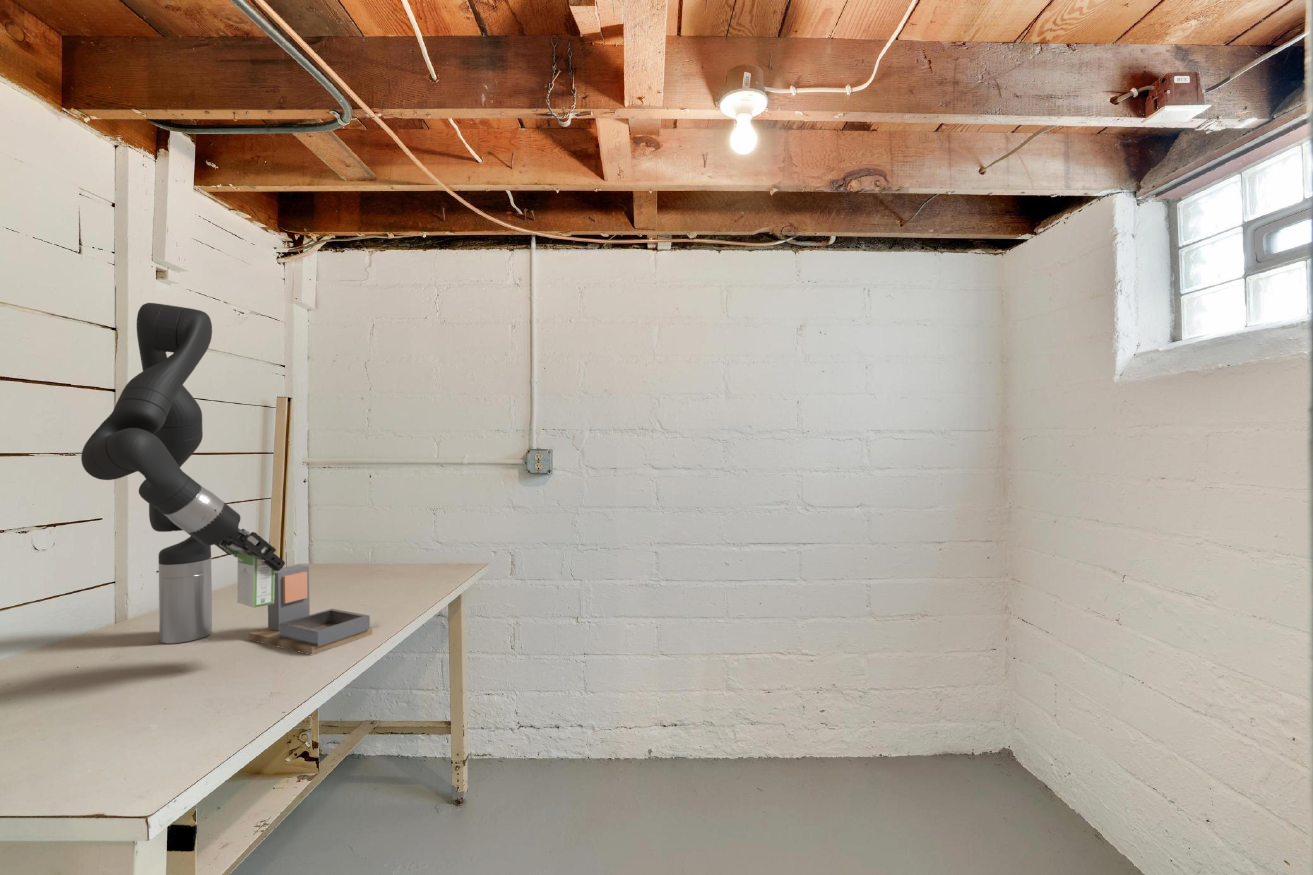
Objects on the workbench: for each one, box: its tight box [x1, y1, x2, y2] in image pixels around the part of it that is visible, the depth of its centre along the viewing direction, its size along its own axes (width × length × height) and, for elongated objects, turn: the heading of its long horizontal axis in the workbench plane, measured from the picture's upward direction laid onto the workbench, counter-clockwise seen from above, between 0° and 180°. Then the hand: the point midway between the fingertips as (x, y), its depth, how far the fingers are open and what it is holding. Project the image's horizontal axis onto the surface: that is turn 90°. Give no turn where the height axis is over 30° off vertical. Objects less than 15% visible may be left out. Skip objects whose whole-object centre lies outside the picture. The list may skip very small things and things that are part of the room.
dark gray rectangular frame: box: [280, 608, 371, 646], centre depth 129 cm, size 19×12×3 cm, turn 64°
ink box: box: [236, 549, 275, 608], centre depth 115 cm, size 7×4×13 cm, turn 57°
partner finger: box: [267, 564, 311, 631], centre depth 133 cm, size 5×7×13 cm
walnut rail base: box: [248, 623, 373, 655], centre depth 130 cm, size 22×14×2 cm, turn 64°
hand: (269, 565), depth 117 cm, fingers closed on ink box, 7 cm apart
